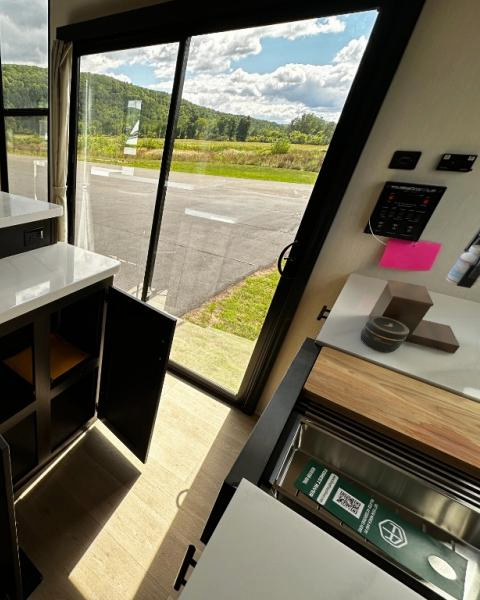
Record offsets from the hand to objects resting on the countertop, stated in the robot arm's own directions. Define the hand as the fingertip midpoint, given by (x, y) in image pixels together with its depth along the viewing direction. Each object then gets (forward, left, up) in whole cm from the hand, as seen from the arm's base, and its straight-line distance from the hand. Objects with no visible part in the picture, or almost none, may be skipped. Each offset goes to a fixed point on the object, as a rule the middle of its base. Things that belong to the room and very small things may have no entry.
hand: (460, 281), depth 95 cm
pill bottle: (0, 0, -1) cm, 1 cm away
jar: (+13, +14, -20) cm, 28 cm away
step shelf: (+4, +2, -20) cm, 21 cm away
